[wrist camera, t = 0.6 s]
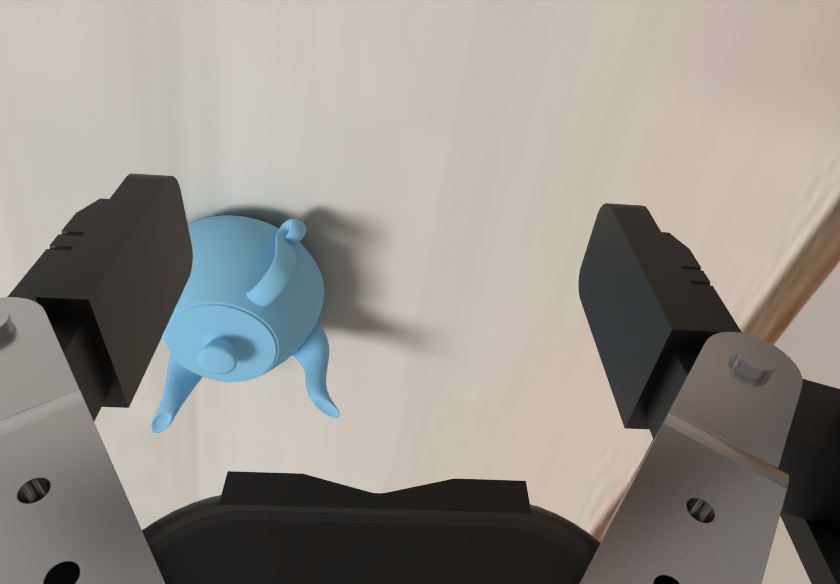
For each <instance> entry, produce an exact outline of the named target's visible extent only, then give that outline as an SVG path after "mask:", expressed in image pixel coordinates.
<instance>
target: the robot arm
mask: <svg viewBox="0 0 840 584" xmlns="http://www.w3.org/2000/svg"><path fill="white" fill-rule="evenodd" d="M192 262H193V251H192V243H191V239H190V234H189V229H188V224H187V219H186V214H185V210H184V205H183V200H182V195H181V190H180V186H179V184H178V181H177V180H176V178H175V177H173V176H162V175H146V174H129V175H128V176H127V177H126V178H125V179H124V181H123V182H122V183H121V185H120V186H119V187H118V189H117V190H116V191H115V193H114V194H113V195H112V197H111V198H110V199H99V200H97V201H96V202H94V203H92V204H91V205H89V206H87V207H86V208H84V209H82V210H81V211H79V212H77V213H76V214H75V215H74V216H73V218H72V219H71V220H70V221H69V222H68V224H67V225H66V226H65V227H64V229H63V230H62V234H61V235H58V236H57V237H56V238H55V240H54V241H53V242H52V243H51V244H50V249H46V251H45V252H44V253H43V254H42V255H41V257H40V258H39V259H38V260H37V262H36V263H35V264H34V265H33V266H32V268H31V269H30V270H29V271H28V273H27V274H26V275H25V276H24V277H23V279H22V280H21V281H20V282H19V284H18V285H17V286H16V287H15V289H14V290H13V291H12V292H11V293H10V295H9V296H8V297H5V298H0V584H761V583H762V579H763V576H764V572H765V568H766V564H767V561H768V557H769V554H770V549H771V546H772V543H773V539H774V535H775V532H776V528H777V524H778V521H779V517H780V516H781V518H782V520H783V522H784V524H785V527H786V529H787V531H788V533H789V535H790V537H791V540H792V542H793V544H794V546H795V548H796V551H797V553H798V555H799V557H800V559H801V561H802V564H803V566H804V568H805V570H806V572H807V575H808V577H809V579H810V581H811V583H812V584H840V389H837V388H833V387H830V386H826V385H823V384H819V383H815V382H812V381H808V380H805V379H802V376H801V373H800V371H799V369H798V367H797V366H796V364H795V363H794V362H793V361H792V360H791V358H790V357H788V356H787V355H786V354H785V353H784V352H783V351H781V350H780V349H779V348H777V347H776V346H774V345H772V344H771V343H769V342H767V341H765V340H763V339H760V338H758V337H755V336H752V335H748V334H744V333H742V332H741V330H740V329H739V327H738V326H737V324H736V322H735V321H734V319H733V318H732V316H731V314H730V313H729V311H728V310H727V308H726V306H725V305H724V303H723V302H722V300H721V299H720V297H719V295H718V294H717V292H716V291H715V289H714V287H713V286H710V281H709V279H708V278H707V276H706V275H705V273H704V271H701V270H700V268H701V267H700V265H699V263H698V262H697V260H696V259H695V257H694V255H693V254H692V252H691V251H690V249H689V248H687V247H686V246H685V245H684V244H682V243H681V242H680V241H679V240H677V239H676V238H675V237H674V236H672V235H671V234H670V233H665V232H661V231H660V229H659V228H658V226H657V224H656V223H655V221H654V219H653V217H652V216H651V214H650V212H649V211H648V209H647V208H646V207H645V206H640V205H624V204H607V203H606V204H604V205H603V206H602V207H601V208H600V210H599V212H598V215H597V218H596V221H595V224H594V227H593V230H592V234H591V237H590V240H589V243H588V246H587V250H586V253H585V256H584V259H583V262H582V265H581V269H580V274H579V295H580V299H581V303H582V305H583V308H584V311H585V314H586V317H587V320H588V323H589V326H590V329H591V332H592V334H593V337H594V340H595V343H596V346H597V349H598V352H599V355H600V358H601V361H602V364H603V366H604V369H605V372H606V375H607V378H608V381H609V384H610V387H611V390H612V393H613V396H614V398H615V401H616V404H617V407H618V410H619V413H620V416H621V419H622V422H623V425H624V428H631V429H650V431H651V434H652V437H653V441H652V443H651V444H650V446H649V448H648V450H647V452H646V454H645V456H644V458H643V459H642V461H641V463H640V465H639V467H638V469H637V471H636V473H635V475H634V477H633V478H632V480H631V482H630V484H629V486H628V488H627V490H626V492H625V494H624V496H623V497H622V499H621V501H620V503H619V505H618V507H617V509H616V511H615V513H614V515H613V516H612V518H611V520H610V522H609V524H608V526H607V528H606V530H605V532H604V533H603V535H602V537H601V539H600V541H597V540H596V539H595V538H594V537H593V536H591V535H590V534H589V533H588V532H586V531H585V530H583V529H582V528H580V527H579V526H577V525H576V524H574V523H573V522H571V521H569V520H567V519H565V518H563V517H561V516H559V515H558V514H555V513H553V512H550V511H548V510H546V509H543V508H541V507H538V506H534V505H531V504H530V503H529V497H528V492H527V486H526V481H510V480H479V479H450V480H446V481H441V482H436V483H431V484H426V485H422V486H417V487H412V488H407V489H403V490H398V491H393V492H388V493H381V494H379V493H371V492H367V491H363V490H360V489H356V488H352V487H349V486H345V485H341V484H338V483H334V482H331V481H327V480H323V479H320V478H316V477H312V476H309V475H305V474H292V473H261V472H230V471H228V473H227V477H226V480H225V484H224V488H223V491H222V495H219V496H215V497H210V498H207V499H204V500H201V501H198V502H194V503H192V504H189V505H187V506H185V507H182V508H180V509H178V510H175V511H173V512H171V513H170V514H168V515H166V516H164V517H162V518H161V519H159V520H157V521H155V522H154V523H152V524H151V525H149V526H148V527H146V528H145V529H143V530H141V528H140V525H139V523H138V521H137V518H136V516H135V514H134V512H133V509H132V507H131V505H130V503H129V500H128V498H127V496H126V494H125V491H124V489H123V487H122V484H121V482H120V480H119V478H118V475H117V473H116V471H115V469H114V466H113V464H112V462H111V460H110V457H109V455H108V453H107V450H106V448H105V446H104V444H103V441H102V439H101V437H100V435H99V432H98V430H97V428H96V426H95V423H94V421H95V419H96V417H97V415H98V413H99V411H100V409H101V407H125V408H129V406H130V404H131V402H132V400H133V397H134V395H135V393H136V391H137V389H138V387H139V385H140V382H141V380H142V378H143V376H144V374H145V372H146V370H147V367H148V365H149V363H150V361H151V359H152V357H153V355H154V352H155V350H156V348H157V346H158V344H159V342H160V340H161V337H162V335H163V333H164V331H165V329H166V327H167V325H168V322H169V320H170V318H171V316H172V314H173V312H174V310H175V307H176V305H177V303H178V301H179V299H180V297H181V295H182V292H183V290H184V288H185V286H186V284H187V282H188V280H189V277H190V274H191V270H192Z"/></svg>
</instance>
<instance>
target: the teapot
mask: <svg viewBox="0 0 840 584" xmlns="http://www.w3.org/2000/svg"><path fill="white" fill-rule="evenodd" d="M188 229H189V234H190V239H191V243H192V251H193V262H192V270H191V274H190V277H189V280H188V282H187V284H186V286H185V288H184V290H183V292H182V295H181V297H180V299H179V301H178V303H177V305H176V307H175V310H174V312H173V314H172V316H171V318H170V320H169V322H168V325H167V327H166V329H165V331H164V333H163V335H162V339H163V341H164V343H165V345H166V346H167V348H168V350H169V351H170V353H171V355H170V359H169V363H168V369H167V377H166V383H165V389H164V393H163V397H162V400H161V403H160V406H159V408H158V410H157V412H156V414H155V416H154V418H153V421H152V425H151V428H152V431H153V432H156V433H159V432H162V431H163V430H165V429H166V428H167V427H168V426H169V425H170V424H171V422H172V421H173V419H174V417H175V416H176V414H177V412H178V410H179V409H180V407H181V406H182V404H183V403H184V401H185V400H186V398H187V397H188V395H189V394H190V393H191V391H192V390H193V389H194V387H195V386H196V385H197V383H198V382H199V381H200V380H201V378H202V377H206V378H209V379H213V380H217V381H224V382H240V381H246V380H251V379H254V378H256V377H259V376H261V375H263V374H265V373H267V372H269V371H270V370H272V369H273V368H275V367H277V366H278V365H280V364H281V363H282V362H284V361H285V360H287V359H288V358H289V357H290V356H291V355H293V356H294V357H295V358H296V359H297V360H298V361H299V362H300V364H301V365H302V367H303V369H304V372H305V377H306V388H307V392H308V395H309V397H310V399H311V401H312V402H313V404H314V405H315V406H316V407H317V408H318V409H319V410H321V411H322V412H323V413H325V414H326V415H328V416H331V417H334V418H337V417H339V411H338V409H337V407H336V406H335V405H334V403H333V401H332V400H331V398H330V397H329V394H328V391H327V387H326V373H327V366H328V360H329V344H328V339H327V337H326V335H325V333H324V331H323V329H322V327H321V326H320V324H319V323H318V319H319V317H320V314H321V311H322V307H323V302H324V297H325V288H324V281H323V278H322V275H321V272H320V270H319V267H318V265H317V263H316V261H315V260H314V258H313V257H312V255H311V254H310V253H309V252H308V251H307V249H306V248H305V247H304V246H303V245H302V244H301V243H300V241H301V240H302V239H303V237H304V236H305V234H306V232H307V228H306V226H305V224H304V223H303V222H302V221H301V220H299V219H295V218H292V219H289V220H287V221H286V222H284V223H283V224H282V225H281V227H280V228H277V227H276V226H273V225H271V224H268V223H266V222H263V221H260V220H257V219H254V218H248V217H243V216H233V215H221V216H213V217H207V218H203V219H199V220H197V221H194V222H192V223H189V224H188Z"/></svg>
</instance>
